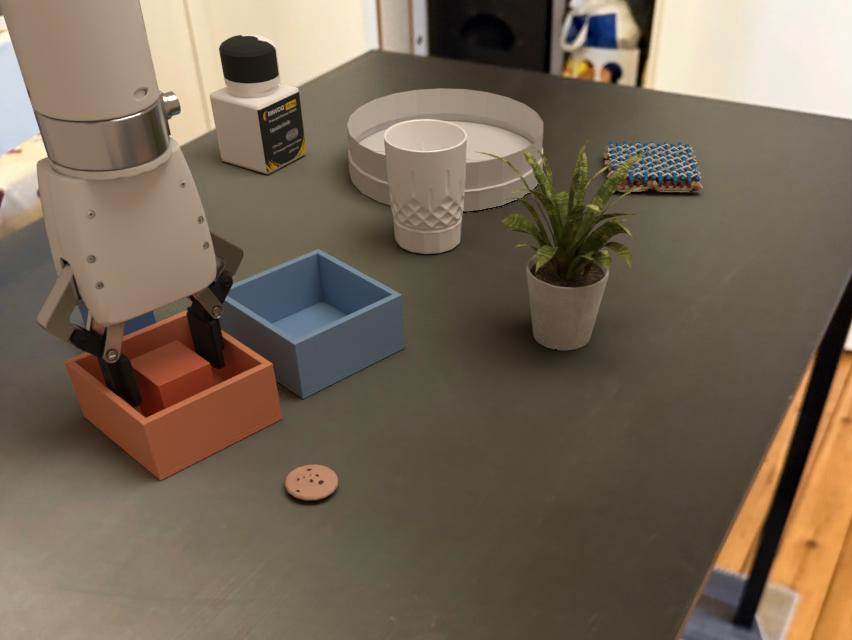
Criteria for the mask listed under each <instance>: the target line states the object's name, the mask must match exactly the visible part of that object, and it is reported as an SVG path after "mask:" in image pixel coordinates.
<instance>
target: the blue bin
mask: <svg viewBox="0 0 852 640" xmlns="http://www.w3.org/2000/svg"><path fill="white" fill-rule="evenodd" d="M223 307H224V314H223V316H222V317H221V318H219V322H220V327H221V330H223V331H224V332H226V333H227V334H229V335H230V336H232V337H233V338H235V339H236V340H238V341H239V342H241V343H242V344H244V345H245V346H247V347H248V348H250V349H251V350H253V351H254V352H256V353H257V354H259V355H260V356H262V357H263V358H265V359H266V360H268V361H269V362H271V363H272V364H273V368H274V374H275V380H276V383H278V384H280V385H281V386H283V387H284V388H286V389H287V390H289V391H290V392H292V393H293V394H294V395H296V396H298V397H299V398H300V399H302V400H304V399H306V398H308V397H310V396H312V395H315V394H317V393H319V392H320V391H322V390H324V389H326V388H328V387H330V386H331V385H332V386H333V385H335V384H336V383H338V382H340V381H342V380H344V379H346V378H348V377H350V376H352V375H354V374H356V373H358V372H360V371H362V370H364V369H366V368H368V367H370V366H372V365H374V364H376V363H378V362H381V361H382V360H383V359H386V358H388V357H390V356H393V354H396V353H398V352H400V351H402V350H404V349H405V347H406V346H405V345H406V344H405V329H404V328H405V327H404V326H405V325H404V309H403V295H402V294H401V293H399V292H398V291H397V290H395V289H392V288H390V286H387V285H385V284H383V283H382V282H380V281H378V280H376V279H375V278H372V277H371V276H368V275H367V274H365V273H364V272H362V271H359V270H358V269H356V268H354V267H352V266H350V265H348V264H347V263H345V262H343V261H342V260H339V259H338V258H337V257H336V258H335V256H332V255H331V254H329V253H327V252H325V251H323V250H321V249H319V248H317V249H313V250H312V251H310V252H308V253H304V254H303V255H300V256H296V257H295V258H293V259H290V260H288V261H286V262H282V263H280V264H278V265H275V266H273V267H271V268H269V269H266V270H264V271H260V272H259V273H256V274H254V275H251V276H249V277H246V278H244V279H241V280H239V281H237V282H233V285H232V287H231V289H230V291H229V293H228V295H227V297H226V299H225V301H224V303H223Z"/></svg>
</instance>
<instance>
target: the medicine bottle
mask: <svg viewBox="0 0 852 640" xmlns="http://www.w3.org/2000/svg"><path fill="white" fill-rule="evenodd" d="M218 52H219V59H220V64H221V69H222V74H223V81H224V85H225V86H224V87H222V88H220V89H218V90H215V91H213V92H210V94H209V101H210V106H211V111H212V117H213V122H214V126H215V132H216V137H217V142H218V148H219V154H220V158H221V161H222V162H224V163H228V164H231V165H235V166H238V167H241V168H245V169H248V170H251V171H255V172H257V173H261V174H264V175H271V174H272V173H274V172H276V171H278V170H279V169H282V168H283V167H285V166H287V165H289V164H291V163H293V162H295V161H296V160H298V159H300V158H302V157H303V156H306V154H307V144H306V137H305V130H304V122H303V113H302V105H301V96H300V90H299V88H298V87H297V86H292V85H288V84H284V83H281V81H282V80H281V74H280V73H281V71H280V65H279V58H278V50H277V45H276V44H275V42H273V40H272V39H270V38H267V37H265V36H264V35H259V34H249V33H248V34H237V35H233V36H231V37H230V36H229V37H228V38H227V39H224V40H223V41H222V42H221V43H220V45H219V47H218Z"/></svg>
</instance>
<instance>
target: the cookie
mask: <svg viewBox="0 0 852 640" xmlns="http://www.w3.org/2000/svg"><path fill="white" fill-rule="evenodd" d="M284 487H285V489H286V491H287V493H288V494H290V495H291V497H294V498H295V499H299V500H303V501H319V500H322V499H325V498H327V497H329V496H330V495H332V494H334V492H335V491H336V489H337V488H338V487H339V477H338V476H337V473H336V472H335V471H334V470H332V469H331V468H330V467H328V466H325V465H321V464H306V465H301V466H299V467H297V468H295V469H293V470H291V471H290V472H289V473H288V474H287V476H286V477H285V481H284Z"/></svg>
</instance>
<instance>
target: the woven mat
mask: <svg viewBox="0 0 852 640" xmlns="http://www.w3.org/2000/svg"><path fill="white" fill-rule="evenodd" d="M613 143H614V142H613V140H609V145H606V146H605V147H604V150H605V152H604V153H603V154H602V155H603V156H602V159H603V158H605V159H604V164H603V165H605V166H607V165H609V164H611V163H613V162H614V161H615V162H614V163H613V164H611V165H610V166H609V167H608V168H607V169H608V174H607V176H606V177H607V179H608V178H609V177H610V176H611V175H612V174H613V172H614V171H615V170H616V169H617V168H618V167H619V166H620V165H621V164H622V163H624V162H625V161H626V160H627V159H629V158H630V157H632V156H634V155H636V154H639V153H642V152H645V151H648V152H646V153H645V154H644V155H643V156H642V157H641V158H640V159H639V160H638V161H637V162H636V163H635V164H634V165H633V166H632V167H631V168H630V170H629V172H628V174H627V176H626V178H625V180H624V181H623V183H622V184H621V185H620V186H619V187H618V188H617V189H616V190H632V189H634V188H637V187H650V188H646V189H642V190H647V191H648V190H649V191H655V190H658V191H663V190H664V191H691V192H692V191H693V192H699V191H701V190H702V189H703V187H704V186H703V184H701V182H700V180H701V179H702V176H701V175H702V172H700V171H698V170H699V169H700V166H698V165H699V164H698V161H697V156H696V155H694V154H693V153H694V152H695V150H693V148H694V147H692V146H691V147H690V144H689V143H688V144H687V143H686V144H684V145H682V142H681V141H679V142H677V146H676V144H675V143H671V144H670V145H669V144H668V142H667V141H666V142H665V141H664V143H663V144H662V143H657V144H655V143H654V141H651V142H650V144H648V143H643V144H641V141H637V142H636V144H635V143H634V142H630V143H629V145H628V144H627V141H626V140H623V141H622V145H621V142H616V143H615V145H614V144H613ZM640 185H643V186H640ZM669 186H673V187H669ZM658 191H657V192H658Z"/></svg>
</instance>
